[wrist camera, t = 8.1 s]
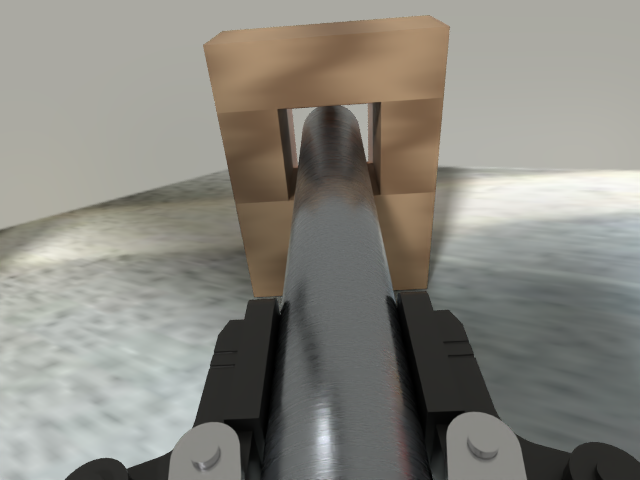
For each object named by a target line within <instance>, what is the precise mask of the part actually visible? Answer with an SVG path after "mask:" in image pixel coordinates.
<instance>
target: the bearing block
mask: <svg viewBox="0 0 640 480" xmlns="http://www.w3.org/2000/svg"><path fill="white" fill-rule="evenodd" d="M449 30H450V27H449V26H448V25H446V24H444V23H443V22H441V21H439V20H437V19H435V18H433V17H432V16H430V15H425V16H414V17H413V16H412V17H399V18H386V19H373V20H360V21H347V22H334V23H322V24H309V25H296V26H283V27H271V28H257V29H244V30H232V31H222V32H221V33H219V34H218V35H216V36H215V37H214V38H212V39H211V40H210V41H208V42H207V43H206V44H204V45H203V47H204V52H205V57H206V62H207V67H208V71H209V76H210V81H211V85H212V91H213V96H214V101H215V106H216V111H217V116H218V121H219V125H220V130H221V135H222V140H223V145H224V150H225V155H226V160H227V165H228V170H229V175H230V180H231V185H232V190H233V194H234V199H235V204H236V209H237V214H238V219H239V224H240V229H241V234H242V239H243V244H244V249H245V253H246V258H247V263H248V268H249V273H250V278H251V283H252V288H253V293H254V297H267V296H283V289H284V281H285V272H286V264H287V256H288V248H289V239H290V231H291V223H292V214H293V206H294V198H295V190H296V181H297V173H298V168H293V161H292V152H291V143H290V134H289V126H288V117H287V108H300V107H315V106H329V105H344V104H358V103H373V163H367V167H368V172H369V177H370V181H371V186H372V191H373V196H374V200H375V205H376V210H377V215H378V220H379V224H380V229H381V234H382V239H383V243H384V248H385V253H386V258H387V262H388V267H389V272H390V277H391V282H392V286H393V290H409V289H427V282H428V271H429V259H430V248H431V236H432V225H433V213H434V202H435V190H436V179H437V167H438V156H439V144H440V132H441V121H442V110H443V98H444V87H445V75H446V64H447V53H448V41H449Z"/></svg>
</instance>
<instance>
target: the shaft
mask: <svg viewBox="0 0 640 480" xmlns="http://www.w3.org/2000/svg"><path fill="white" fill-rule="evenodd" d="M260 480H433V477H432V473H431V468H430V463H429V458H428V454H427V449H426V444H425V439H424V434H423V430H422V425H421V420H420V415H419V411H418V406H417V401H416V396H415V391H414V387H413V382H412V377H411V372H410V368H409V363H408V358H407V353H406V349H405V344H404V339H403V334H402V329H401V325H400V320H399V315H398V310H397V305H396V301H395V296H394V291H393V286H392V282H391V277H390V272H389V267H388V262H387V258H386V253H385V248H384V243H383V239H382V234H381V229H380V224H379V220H378V215H377V210H376V205H375V200H374V196H373V191H372V186H371V181H370V177H369V172H368V167H367V162H366V157H365V153H364V148H363V143H362V139H361V134H360V129H359V124H358V121H357V119H356V117H355V116H354V115H353V113H352V112H351V111H350V110H348V109H347V108H345V107H343V106H341V105H337V106H323V107H318V108H316V109H314V110H313V111H312V112H311V113H310V114H309V115H308V117H307V118H306V120H305V122H304V126H303V132H302V141H301V148H300V157H299V165H298V173H297V181H296V190H295V198H294V206H293V214H292V223H291V231H290V239H289V248H288V256H287V264H286V272H285V281H284V289H283V297H282V305H281V314H280V322H279V330H278V339H277V347H276V355H275V363H274V372H273V380H272V388H271V396H270V405H269V413H268V421H267V429H266V438H265V446H264V454H263V463H262V471H261V479H260Z"/></svg>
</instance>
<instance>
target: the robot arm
mask: <svg viewBox="0 0 640 480" xmlns="http://www.w3.org/2000/svg"><path fill="white" fill-rule="evenodd" d="M397 310H398V315H399V320H400V325H401V329H402V334H403V339H404V344H405V349H406V353H407V358H408V363H409V368H410V372H411V377H412V382H413V387H414V391H415V396H416V401H417V406H418V411H419V415H420V420H421V425H422V430H423V434H424V439H425V444H426V449H427V454H428V458H429V463H430V468H431V473H432V474H433V478H434V480H640V462H639V461H637V460H636V459H635V458H634V457H632V456H631V455H629V454H628V453H627V452H625V451H623V450H621V449H619V448H617V447H614V446H612V445H609V444H605V443H599V442H589V443H584V444H581V445H579V446H578V447H576V448H575V449H574V450H573V452H572V453H568V452H564V451H560V450H557V449H553V448H549V447H545V446H542V445H538V444H535V443H532V442H529V441H527V440H525V439H523V438H521V437H520V436H518V435H517V434H515V433H514V432H513V431H512V430H511V429H510V428H509V427H508V426H507V425H506V424H505V423H504V422H502V421H501V419H500V418H499V416H498V415H497V412H496V410H495V408H494V405H493V403H492V400H491V398H490V395H489V392H488V390H487V387H486V385H485V382H484V379H483V377H482V374H481V371H480V369H479V366H478V364H477V361H476V358H474V353H473V351H472V348H471V345H470V344H469V340H468V338H467V335H466V332H465V330H464V327H463V324H462V323H461V322H460V321H459V320H458V319H457V318H456V317H455V316H454V315H453V314H452V313H451V312H450V311H449V310H437V311H433V308H432V305H431V301H430V298H429V295H428V293H427V292H426V291H421V292H401V293H398V301H397ZM279 322H280V312H279V306H278V301H277V299H257V300H249V301H248V305H247V309H246V314H245V319H244V320H230V321H229V322H228V323H227V325H226V326H225V327H224V329H223V330H222V331H221V332H220V334H219V335H218V338H217V342H216V346H215V349H214V355H213V357H212V360H211V364H210V369H209V371H208V375H207V379H206V382H205V386H204V390H203V393H202V397H201V401H200V404H199V408H198V412H197V416H196V419H195V422H194V425H193V427H192V429H191V430H189V431H188V432H187V433H185V434H184V435H183V436H182V437H181V438H180V440H179V441H178V442H177V444H176V445H175V447H174V449H173V450H172V451H170V452H169V453H167V454H165V455H163V456H161V457H158V458H156V459H153V460H150V461H147V462H144V463H142V464H139V465H136V466H133V467H130V468H128V469H126V468H125V466H124V465H123V464H122V463H121V462H119V461H118V460H115V459H112V458H100V459H96V460H93V461H90V462H88V463H86V464H84V465H82V466H81V467H79V468H78V469H76V470H75V471H74V472H72V473H71V474H70V475H69V476H68V477H67V478H66V479H65V480H260V479H261V471H262V463H263V454H264V446H265V438H266V429H267V421H268V413H269V405H270V396H271V388H272V380H273V372H274V363H275V355H276V347H277V339H278V330H279Z"/></svg>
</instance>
